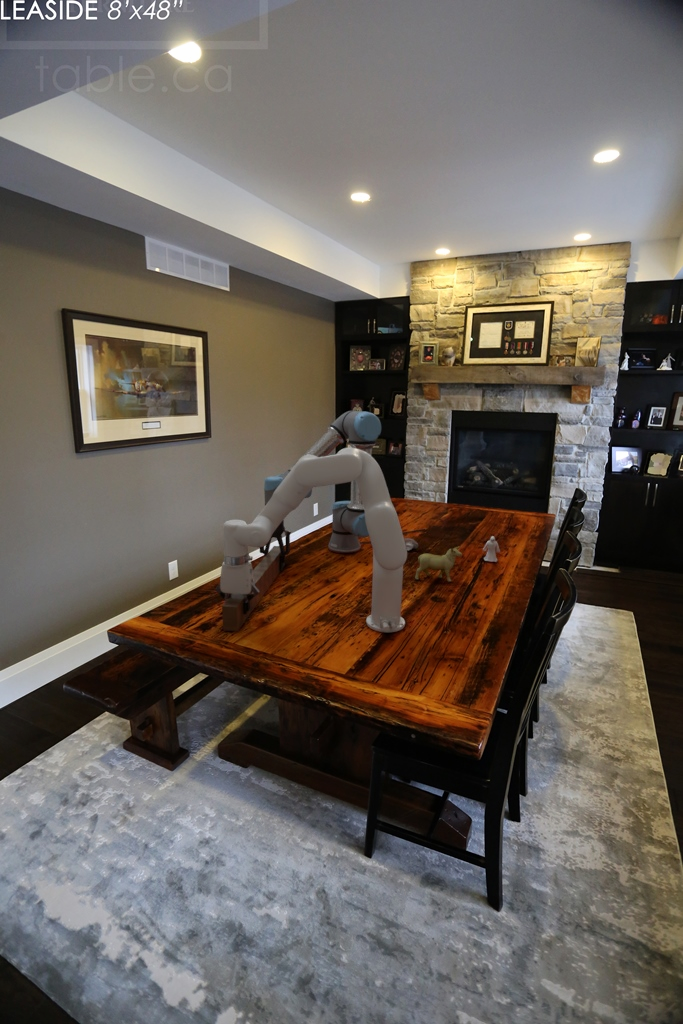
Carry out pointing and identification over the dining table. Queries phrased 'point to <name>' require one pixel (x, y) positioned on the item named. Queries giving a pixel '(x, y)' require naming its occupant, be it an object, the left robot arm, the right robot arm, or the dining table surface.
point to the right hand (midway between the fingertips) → (238, 611)
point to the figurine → (491, 550)
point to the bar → (262, 580)
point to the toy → (438, 563)
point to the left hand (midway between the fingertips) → (275, 569)
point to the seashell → (410, 543)
